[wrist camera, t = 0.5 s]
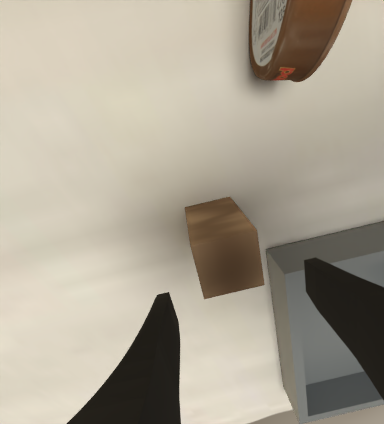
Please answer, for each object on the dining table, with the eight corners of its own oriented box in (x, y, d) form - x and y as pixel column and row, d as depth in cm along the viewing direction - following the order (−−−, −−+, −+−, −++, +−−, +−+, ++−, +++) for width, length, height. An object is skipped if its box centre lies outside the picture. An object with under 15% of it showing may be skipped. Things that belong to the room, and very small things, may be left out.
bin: (399, 217, 22) (444, 236, 19) (385, 362, 29) (416, 396, 26) (265, 249, 22) (284, 274, 19) (283, 386, 29) (299, 424, 26)
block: (229, 196, 20) (256, 230, 14) (236, 237, 22) (264, 284, 15) (184, 207, 20) (190, 246, 14) (194, 247, 22) (204, 299, 15)
